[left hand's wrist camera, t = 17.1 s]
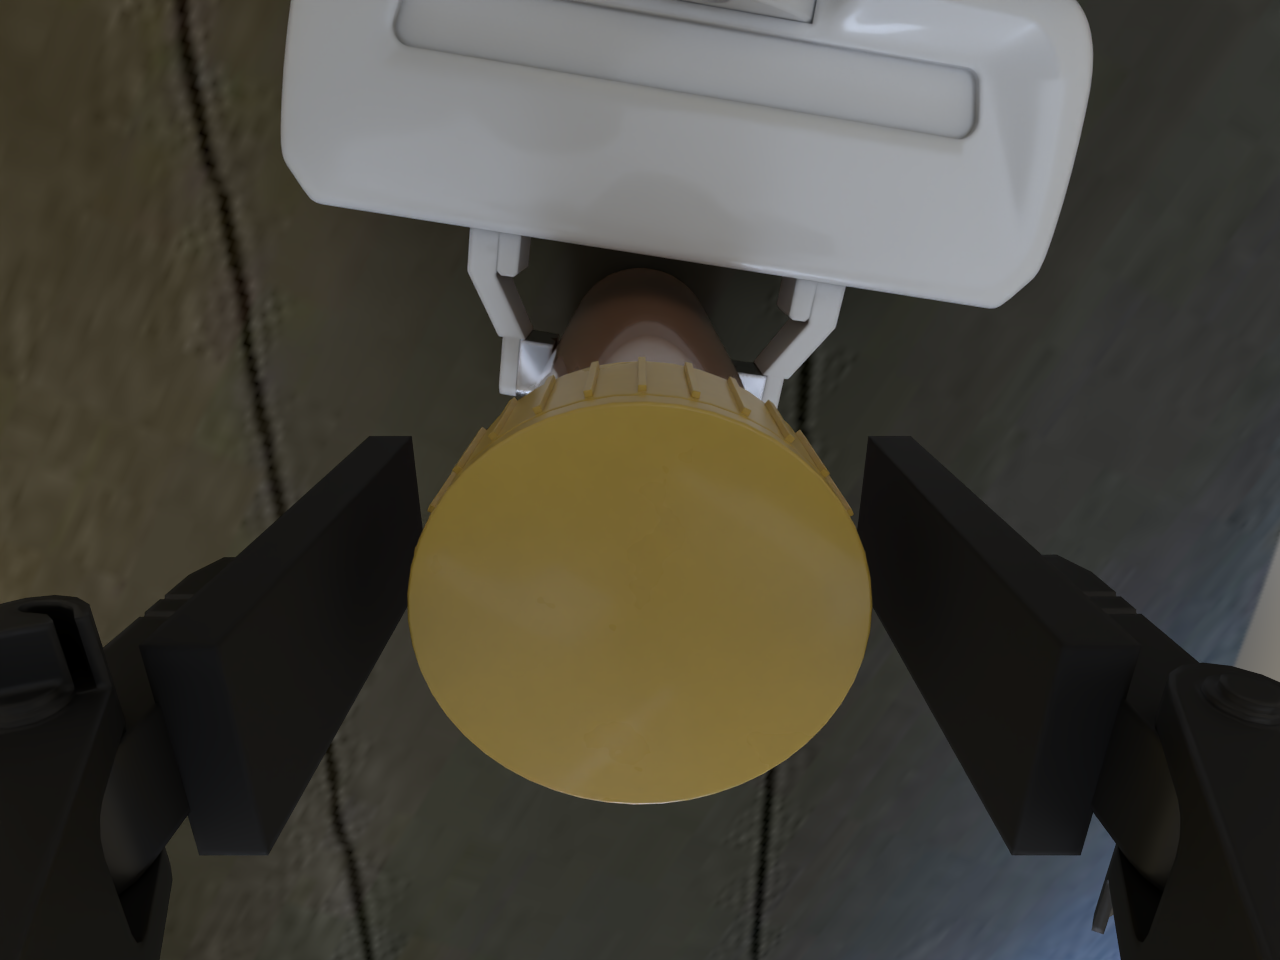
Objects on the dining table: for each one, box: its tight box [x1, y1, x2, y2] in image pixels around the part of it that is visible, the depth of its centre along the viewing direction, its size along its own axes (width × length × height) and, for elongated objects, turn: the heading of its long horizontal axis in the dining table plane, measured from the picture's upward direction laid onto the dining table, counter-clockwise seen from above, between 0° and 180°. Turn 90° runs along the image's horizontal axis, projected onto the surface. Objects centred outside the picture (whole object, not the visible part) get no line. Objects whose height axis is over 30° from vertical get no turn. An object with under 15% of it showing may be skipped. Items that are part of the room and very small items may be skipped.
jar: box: [533, 268, 747, 390], centre depth 20 cm, size 5×5×20 cm
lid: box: [407, 357, 872, 804], centre depth 11 cm, size 6×6×2 cm
